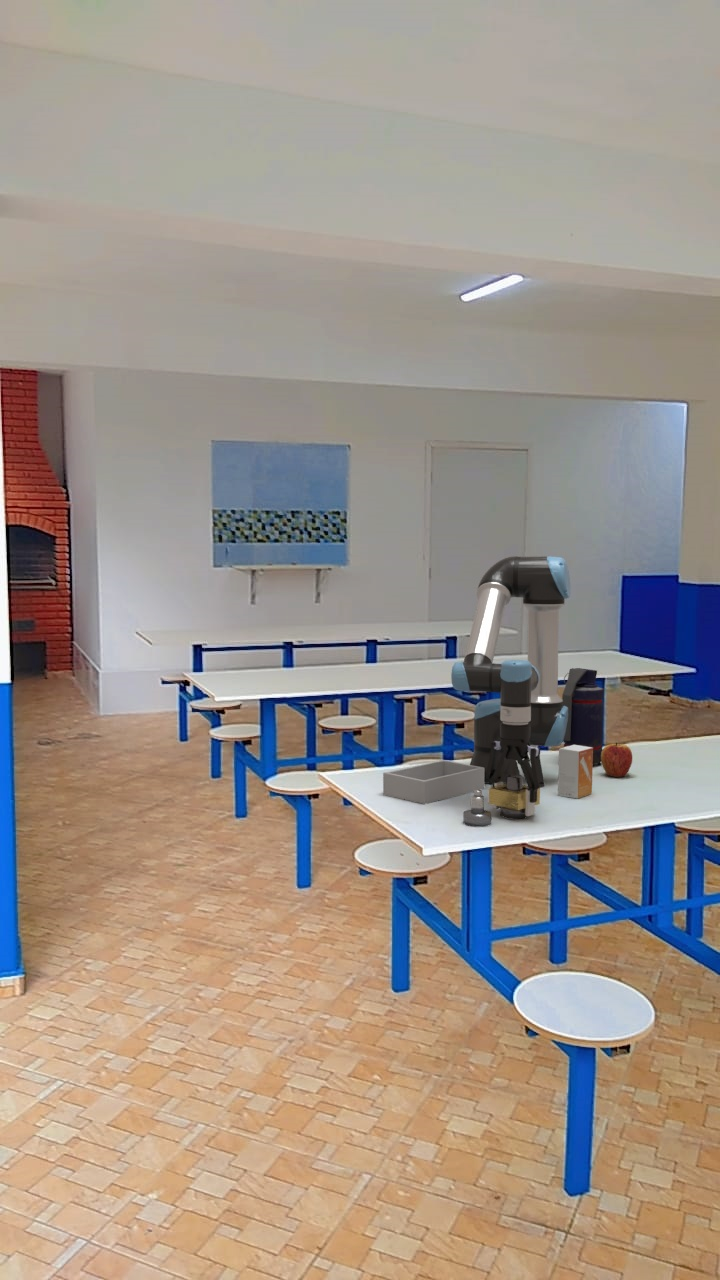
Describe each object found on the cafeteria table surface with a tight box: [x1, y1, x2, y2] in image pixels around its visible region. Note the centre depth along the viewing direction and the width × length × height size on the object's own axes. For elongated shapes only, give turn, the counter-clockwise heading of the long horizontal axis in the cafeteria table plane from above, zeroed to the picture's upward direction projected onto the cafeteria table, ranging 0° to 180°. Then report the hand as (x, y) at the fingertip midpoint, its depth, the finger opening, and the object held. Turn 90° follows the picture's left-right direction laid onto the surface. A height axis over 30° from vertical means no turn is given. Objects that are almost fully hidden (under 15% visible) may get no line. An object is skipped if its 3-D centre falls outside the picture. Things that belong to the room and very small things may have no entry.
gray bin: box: [382, 759, 485, 805], centre depth 277 cm, size 15×25×6 cm, turn 134°
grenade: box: [561, 667, 605, 766], centre depth 314 cm, size 14×12×30 cm
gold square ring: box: [488, 783, 541, 810], centre depth 252 cm, size 9×9×4 cm
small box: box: [557, 745, 594, 799], centre depth 274 cm, size 8×6×13 cm
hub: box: [462, 790, 493, 827], centre depth 245 cm, size 7×7×8 cm
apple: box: [601, 742, 633, 778], centre depth 298 cm, size 9×9×10 cm
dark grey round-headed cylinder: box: [499, 774, 529, 820], centre depth 252 cm, size 7×7×10 cm
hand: (514, 811), depth 252 cm, fingers closed on gold square ring, 9 cm apart
